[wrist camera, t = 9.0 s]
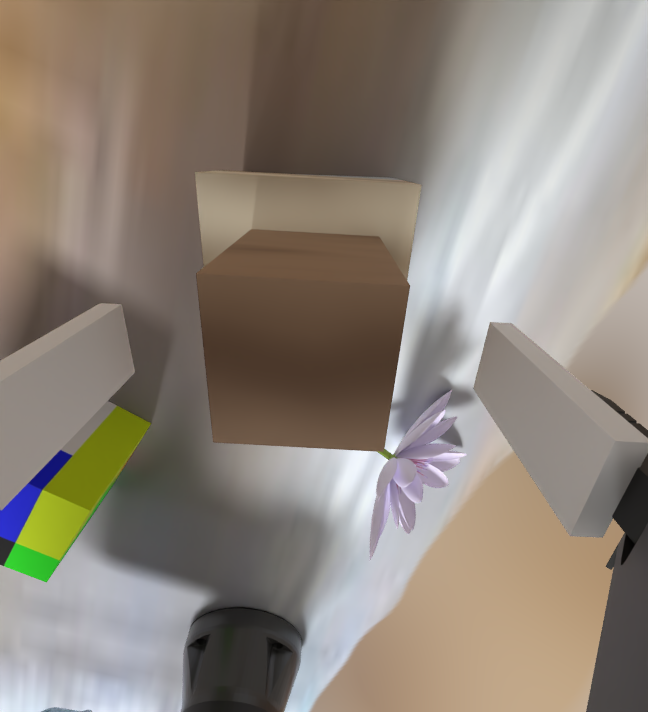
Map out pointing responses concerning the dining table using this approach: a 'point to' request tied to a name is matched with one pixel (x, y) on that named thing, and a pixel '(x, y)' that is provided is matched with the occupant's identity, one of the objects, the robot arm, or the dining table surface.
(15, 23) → the dining table surface
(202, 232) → the tower slab upper
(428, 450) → the water lily
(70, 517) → the puzzle toy
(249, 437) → the walnut block
